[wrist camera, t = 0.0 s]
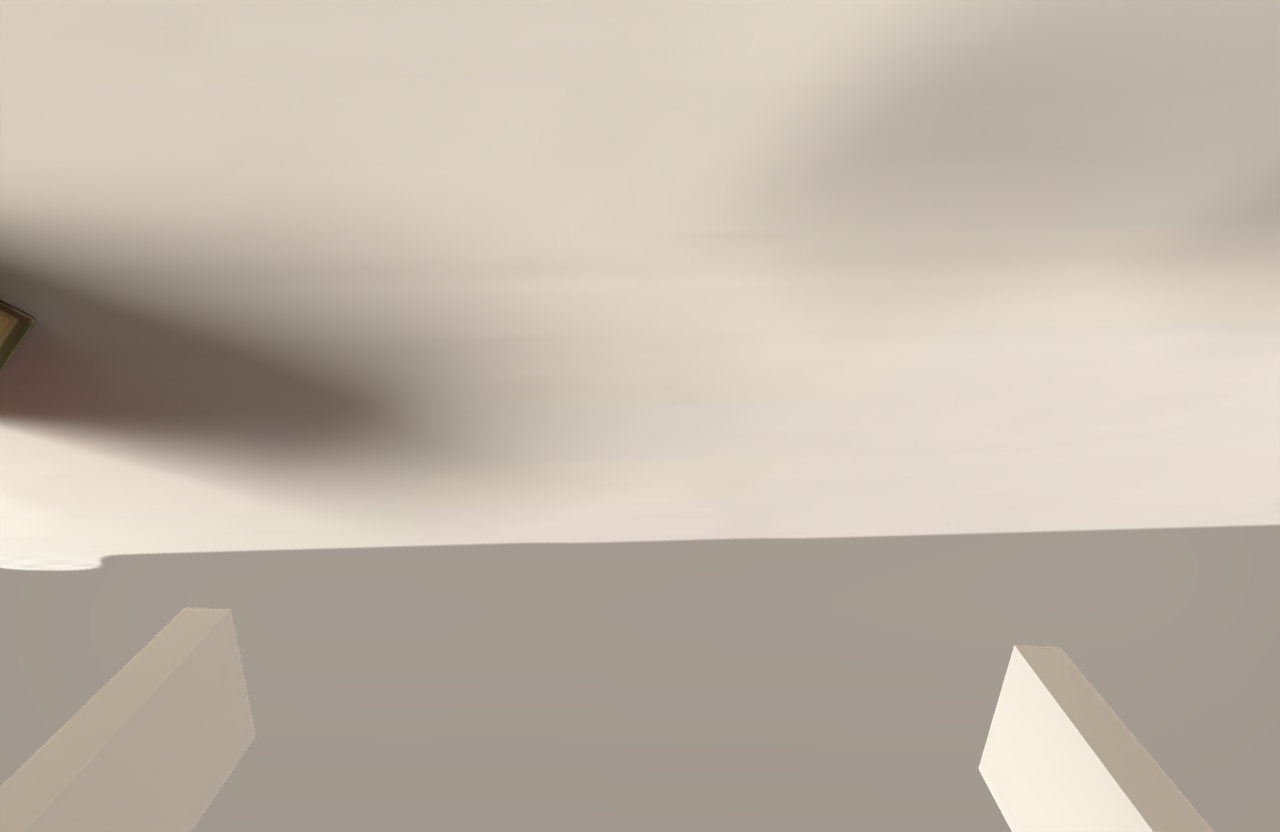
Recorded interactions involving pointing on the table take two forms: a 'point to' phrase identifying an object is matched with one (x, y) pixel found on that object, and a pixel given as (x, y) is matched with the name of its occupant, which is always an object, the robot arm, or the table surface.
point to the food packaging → (12, 331)
